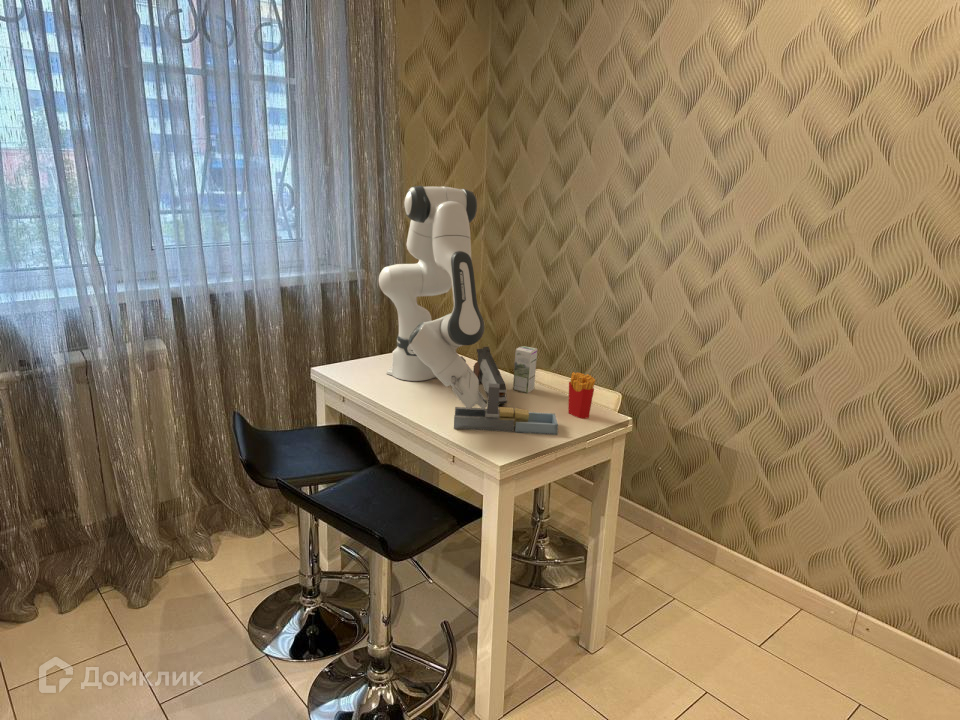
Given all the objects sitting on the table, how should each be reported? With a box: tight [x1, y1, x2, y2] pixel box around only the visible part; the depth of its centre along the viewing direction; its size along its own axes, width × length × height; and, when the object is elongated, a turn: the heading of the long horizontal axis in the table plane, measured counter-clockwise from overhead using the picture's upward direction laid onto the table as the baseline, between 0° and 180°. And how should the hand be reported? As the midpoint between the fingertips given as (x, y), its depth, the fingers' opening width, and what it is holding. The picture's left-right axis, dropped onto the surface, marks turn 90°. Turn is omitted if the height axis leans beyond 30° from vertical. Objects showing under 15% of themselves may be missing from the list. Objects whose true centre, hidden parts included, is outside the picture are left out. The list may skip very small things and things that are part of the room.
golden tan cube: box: [498, 406, 514, 419], centre depth 199 cm, size 4×4×4 cm
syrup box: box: [512, 345, 538, 394], centre depth 230 cm, size 6×6×14 cm
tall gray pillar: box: [485, 383, 500, 418], centre depth 198 cm, size 4×4×11 cm
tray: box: [514, 411, 559, 436], centre depth 200 cm, size 9×12×3 cm
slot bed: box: [453, 406, 515, 433], centre depth 199 cm, size 8×17×4 cm, turn 90°
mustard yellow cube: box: [513, 407, 530, 426], centre depth 199 cm, size 4×4×4 cm
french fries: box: [567, 371, 597, 420], centre depth 210 cm, size 9×4×13 cm, turn 38°
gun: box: [472, 346, 508, 405], centre depth 226 cm, size 5×27×15 cm, turn 16°
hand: (485, 406), depth 198 cm, fingers closed, pressing on tall gray pillar
